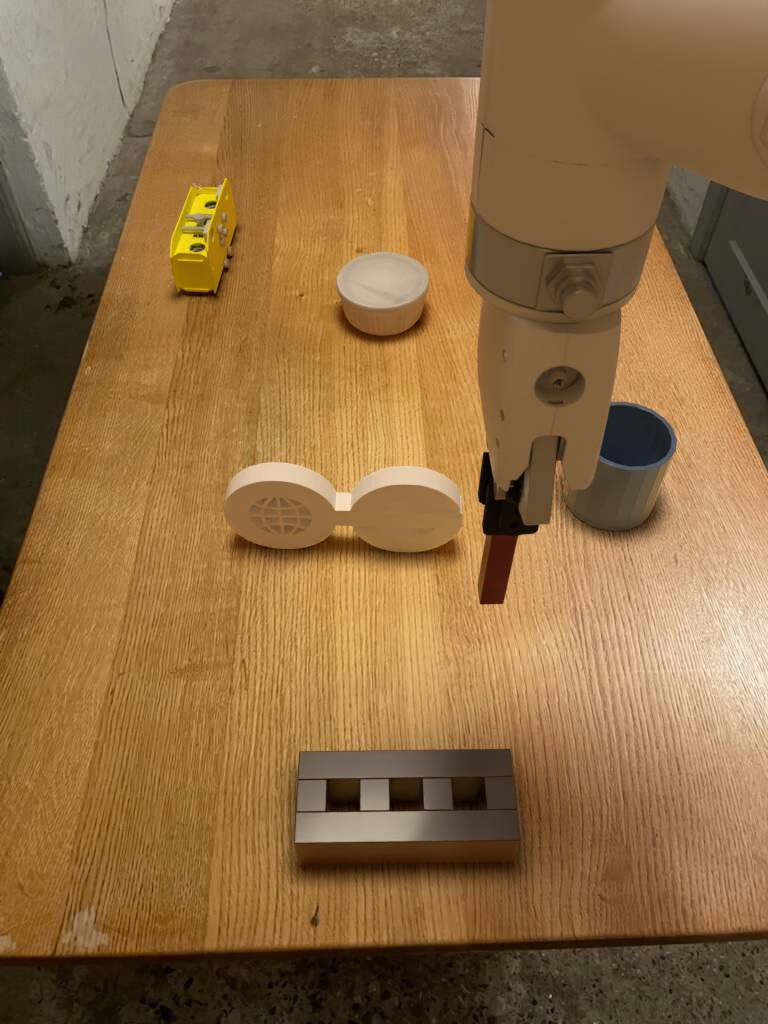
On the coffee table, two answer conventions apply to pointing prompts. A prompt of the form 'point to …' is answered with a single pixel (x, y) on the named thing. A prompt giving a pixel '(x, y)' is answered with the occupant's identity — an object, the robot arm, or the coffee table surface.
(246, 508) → the contact lens case
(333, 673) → the coffee table surface
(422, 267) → the ramekin
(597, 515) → the cup
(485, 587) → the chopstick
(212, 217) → the yellow toy chassis
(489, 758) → the holder
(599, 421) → the robot arm
